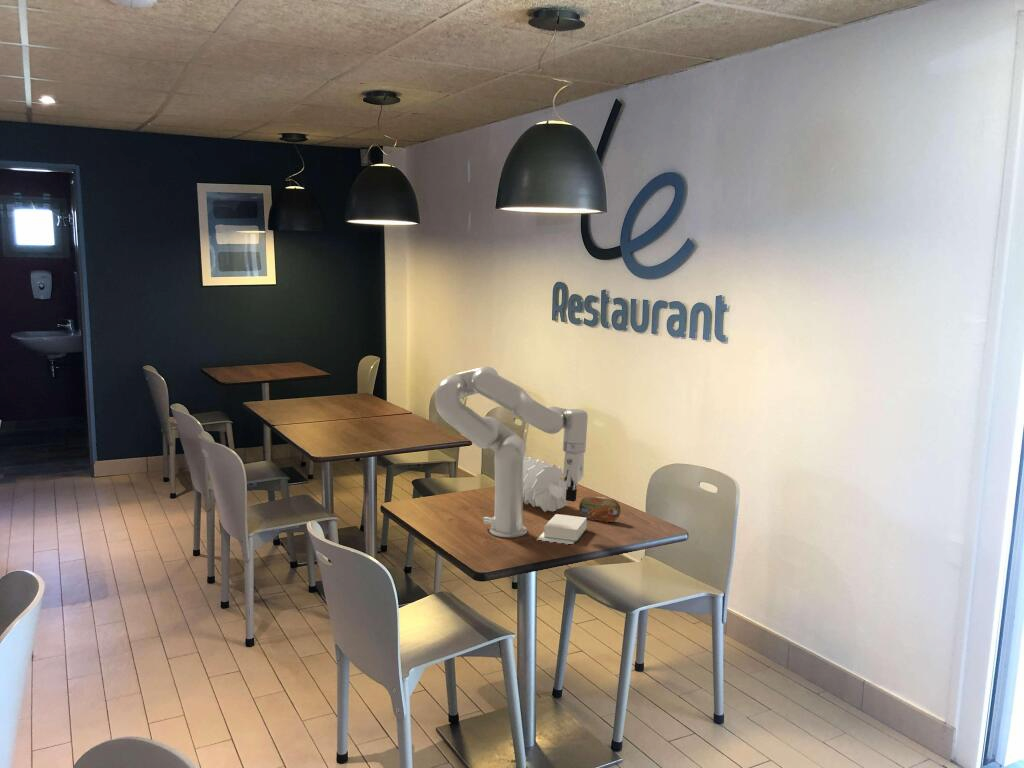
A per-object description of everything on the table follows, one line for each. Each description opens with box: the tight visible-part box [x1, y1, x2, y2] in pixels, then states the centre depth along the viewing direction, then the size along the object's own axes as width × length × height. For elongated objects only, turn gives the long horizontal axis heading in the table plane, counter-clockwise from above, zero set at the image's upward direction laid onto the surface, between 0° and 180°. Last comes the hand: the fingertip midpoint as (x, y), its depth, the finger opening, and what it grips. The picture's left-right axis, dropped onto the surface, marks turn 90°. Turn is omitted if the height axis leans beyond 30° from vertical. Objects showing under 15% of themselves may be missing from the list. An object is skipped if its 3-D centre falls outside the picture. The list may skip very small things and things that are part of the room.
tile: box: [543, 513, 588, 543], centre depth 272 cm, size 4×14×11 cm
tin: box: [578, 495, 621, 523], centre depth 288 cm, size 15×3×8 cm, turn 62°
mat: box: [536, 531, 576, 545], centre depth 273 cm, size 12×19×1 cm, turn 161°
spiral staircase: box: [523, 455, 569, 513], centre depth 303 cm, size 18×18×25 cm
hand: (570, 500), depth 270 cm, fingers closed
